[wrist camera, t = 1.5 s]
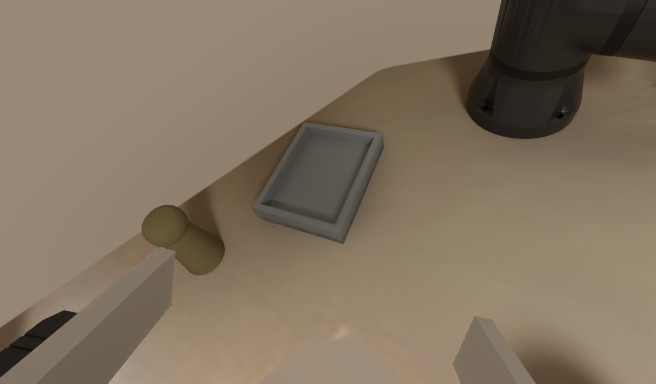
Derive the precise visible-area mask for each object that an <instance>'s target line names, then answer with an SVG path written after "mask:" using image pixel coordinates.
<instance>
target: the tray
mask: <svg viewBox="0 0 656 384" xmlns="http://www.w3.org/2000/svg"><path fill="white" fill-rule="evenodd" d="M383 147H384V143H383V133H376V132H370V131H363V130H356V129H349V128H342V127H335V126H328V125H322V124H315V123H308V122H304V123H303V125H302V126H301V128H300V129H299V131H298V133H297V134H296V136H295V138H294V139H293V141H292V143H291V144H290V146H289V147H288V149H287V151H286V152H285V154H284V156H283V157H282V159H281V161H280V162H279V164H278V165H277V167H276V169H275V170H274V172H273V174H272V175H271V177H270V179H269V180H268V182H267V183H266V185H265V187H264V188H263V190H262V192H261V193H260V195H259V197H258V198H257V200H256V201H255V203H254V205H253V206H252V209H253V210H254V212H255V213H256V214H257V216H258V217H259V218H261V219H264V220H267V221H271V222H274V223H277V224H280V225H284V226H287V227H290V228H294V229H297V230H300V231H303V232H307V233H310V234H313V235H316V236H320V237H323V238H326V239H330V240H333V241H336V242H339V243H343V244H344V241H345V239H346V236H347V234H348V232H349V229H350V227H351V224H352V222H353V219H354V217H355V215H356V212H357V210H358V207H359V205H360V203H361V200H362V198H363V195H364V193H365V191H366V188H367V186H368V183H369V181H370V179H371V176H372V174H373V171H374V169H375V167H376V164H377V162H378V159H379V157H380V155H381V152H382V150H383Z"/></svg>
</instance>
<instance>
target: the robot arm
mask: <svg viewBox="0 0 656 384" xmlns="http://www.w3.org/2000/svg"><path fill="white" fill-rule="evenodd" d="M591 54H595V55H605V56H615V57H623V58H631V59H639V60H646V61H654V62H656V0H502V1H501V6H500V10H499V15H498V19H497V23H496V28H495V32H494V37H493V41H492V46H491V50H490V54H489V57H488V59H487V60H486V62H485V63H484V65H483V67H482V68H481V70H480V71H479V73H478V75H477V76H476V78H475V79H474V81H473V83H472V84H471V86H470V89H469V93H468V98H467V110H468V112H469V114H470V116H471V118H472V119H473V120H474V121H475V122H476V123H477V124H478V125H480V126H481V127H483V128H484V129H486V130H488V131H490V132H492V133H495V134H498V135H501V136H505V137H511V138H520V139H530V138H539V137H544V136H548V135H551V134H554V133H556V132H558V131H560V130H562V129H563V128H565V127H566V126H567V125H568V124H569V123H570V122H571V121H572V120H573V118H574V116H575V114H576V113H577V111H578V109H579V107H580V105H581V101H582V92H583V81H584V69H585V65H586V63H587V61H588V60H589V58H590V56H591ZM175 255H176V251H174V250H169V249H164V248H160V247H157V248H156V249H155V250H154V251H152V252H151V253H150V254H149V255H148V256H146V257H145V258H144V259H143V260H141V261H140V262H139V263H138V264H137V265H135V266H134V267H133V268H132V269H131V270H129V271H128V272H127V273H126V274H125V275H123V276H122V277H121V278H120V279H119V280H117V281H116V282H115V283H114V284H113V285H111V286H110V287H109V288H108V289H107V290H105V291H104V292H103V293H102V294H101V295H99V296H98V297H97V298H96V299H95V300H93V301H92V302H91V303H90V304H88V305H87V306H86V307H85V308H84V309H82V310H81V311H80V312H79V313H75V312H70V311H65V310H64V311H61V312H59V313H57V314H55V315H53V316H51V317H49V318H46V319H44V320H42V321H41V322H40V323H38V324H37V325H36V326H34V327H33V328H32V329H30V330H29V331H28V332H26V333H25V335H24V336H23V337H22V336H21V337H20V338H18V339H17V340H16V341H14V342H13V343H12V344H10V346H9V347H8V348H5V349H4V350H3V351H1V352H0V384H108V383H109V381H110V380H111V379H112V378H113V376H114V375H115V374H116V373H117V372H118V370H119V369H120V368H121V367H122V365H123V364H124V363H125V362H126V360H127V359H128V358H129V357H130V355H131V354H132V353H133V352H134V350H135V349H136V348H137V347H138V345H139V344H140V343H141V342H142V340H143V339H144V338H145V337H146V335H147V334H148V333H149V332H150V330H151V329H152V328H153V327H154V325H155V324H156V323H157V322H158V320H159V319H160V318H161V317H162V316H163V314H164V313H165V312H166V311H167V309H168V308H169V307H170V306H171V299H172V288H173V277H174V266H175ZM453 366H454V368H455V370H456V373H457V375H458V377H459V380H460V382H461V384H536V383H535V382H534V380H533V379H532V377H531V376H530V374H529V373H528V372H527V370H526V369H525V367H524V366H523V364H522V363H521V361H520V360H519V359H518V357H517V356H516V354H515V353H514V351H513V350H512V349H511V347H510V346H509V344H508V343H507V341H506V340H505V338H504V337H503V336H502V334H501V333H500V331H499V330H498V328H497V327H496V326H495V324H494V323H493V321H492V320H491V319H486V318H481V317H477V316H474V319H473V321H472V323H471V325H470V328H469V330H468V332H467V334H466V336H465V339H464V341H463V343H462V345H461V347H460V350H459V352H458V354H457V356H456V358H455V361H454V363H453Z"/></svg>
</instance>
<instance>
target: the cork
mask: <svg viewBox="0 0 656 384" xmlns="http://www.w3.org/2000/svg"><path fill="white" fill-rule="evenodd" d="M142 234H143V236H144V238H145V239H146V240H147V241H148V242H149V243H151V244H153V245H154V246H158V247H165V248H166V249H169V250H174V251H176V255H175V258H176V259H177V260H178V261H179V262H180V263H181V264H182V265H183V266H184V267H185V268H186V269H187V270H188V271H190V272H191V273H193V274H194V275H204V274H207V273H209V272H211V271H213V270H214V269H215V268H216V267H217V266H218V265H219V264H220V262H221V261H222V259H223V256H224V251H225V247H224V244H223V242H222V241H221V240H220V239H219V238H217V237H215V236H214V235H212V234H210V233H208V232H207V231H205V230H203V229H201V228H200V227H198V226H196V225H194V224H193V223H191V222H189V221H188V218H187V216H186V214H185V213H184V212H183V211H182V210H181V209H180V208H178V207H175V206H173V205H163V206H160V207H157V208H155V209H154V210H153V211H151V212H150V213H149V214H148V215H147V217H146V218H145V219H144V221H143V224H142Z"/></svg>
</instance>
